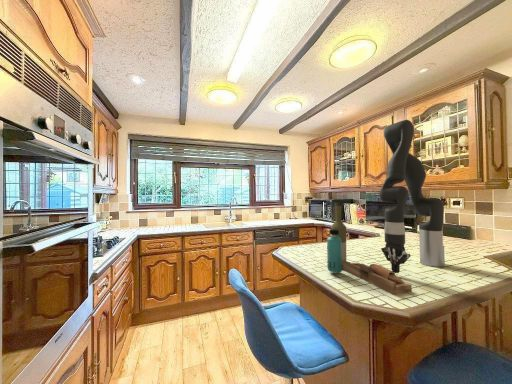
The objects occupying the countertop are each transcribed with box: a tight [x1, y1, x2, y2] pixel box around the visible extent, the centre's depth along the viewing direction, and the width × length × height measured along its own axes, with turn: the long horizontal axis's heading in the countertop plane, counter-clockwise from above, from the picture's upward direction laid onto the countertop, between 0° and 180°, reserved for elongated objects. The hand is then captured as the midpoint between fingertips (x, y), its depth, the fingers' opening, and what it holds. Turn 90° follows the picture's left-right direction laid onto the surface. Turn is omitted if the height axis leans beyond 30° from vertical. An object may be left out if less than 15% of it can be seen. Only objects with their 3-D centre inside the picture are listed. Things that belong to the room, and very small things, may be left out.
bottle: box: [330, 205, 347, 269], centre depth 108 cm, size 7×7×30 cm
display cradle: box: [342, 260, 413, 296], centre depth 91 cm, size 8×28×6 cm, turn 14°
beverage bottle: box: [326, 228, 343, 274], centre depth 98 cm, size 6×7×20 cm
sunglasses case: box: [369, 263, 406, 285], centre depth 93 cm, size 18×7×7 cm
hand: (395, 272), depth 94 cm, fingers closed
